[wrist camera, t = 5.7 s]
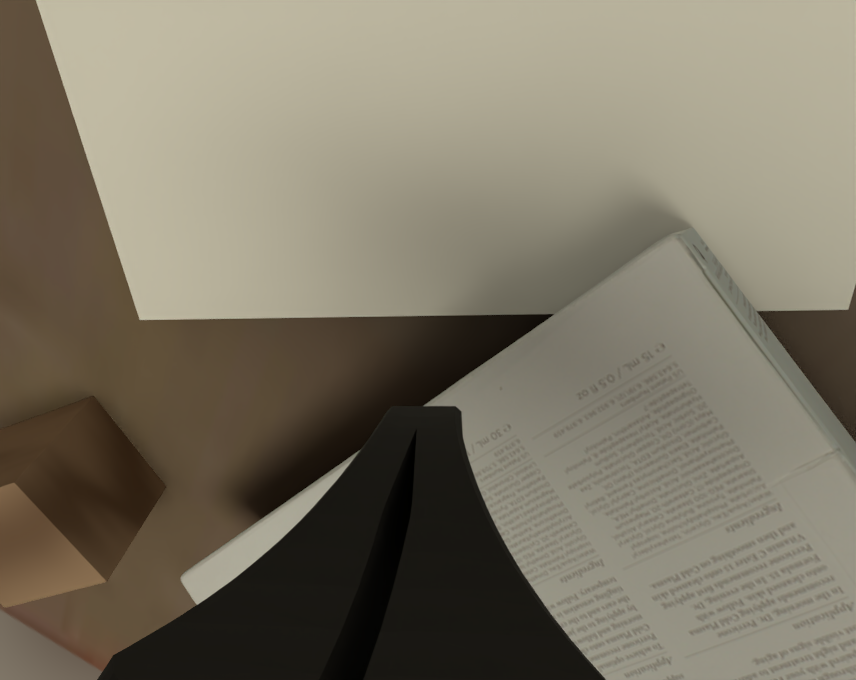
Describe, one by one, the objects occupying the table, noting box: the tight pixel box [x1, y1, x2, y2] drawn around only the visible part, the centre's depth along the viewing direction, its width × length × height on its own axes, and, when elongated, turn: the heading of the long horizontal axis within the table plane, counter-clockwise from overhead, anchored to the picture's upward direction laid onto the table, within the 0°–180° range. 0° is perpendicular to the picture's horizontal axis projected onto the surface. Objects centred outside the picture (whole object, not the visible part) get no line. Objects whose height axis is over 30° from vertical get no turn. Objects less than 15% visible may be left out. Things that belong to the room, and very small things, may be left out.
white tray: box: [36, 0, 856, 320], centre depth 17 cm, size 17×23×2 cm
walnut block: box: [0, 396, 166, 608], centre depth 26 cm, size 5×5×5 cm
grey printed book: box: [181, 227, 856, 680], centre depth 21 cm, size 21×5×16 cm
